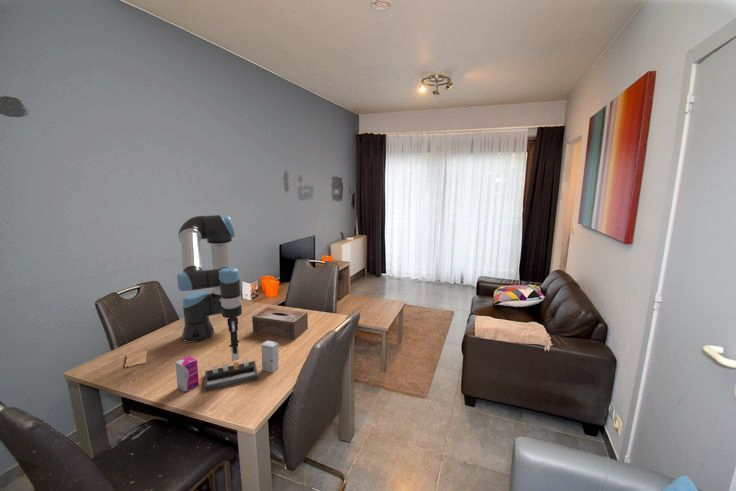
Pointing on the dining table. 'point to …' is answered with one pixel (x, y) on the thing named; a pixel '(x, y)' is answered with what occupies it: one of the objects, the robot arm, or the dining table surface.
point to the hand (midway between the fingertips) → (235, 359)
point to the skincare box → (270, 356)
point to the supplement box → (187, 373)
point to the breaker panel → (230, 375)
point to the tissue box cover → (280, 323)
